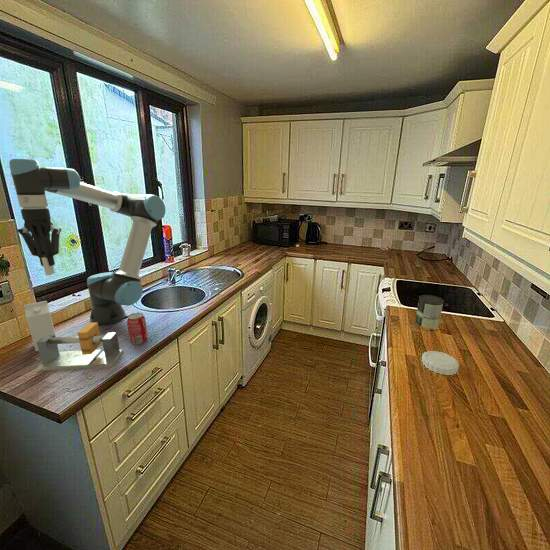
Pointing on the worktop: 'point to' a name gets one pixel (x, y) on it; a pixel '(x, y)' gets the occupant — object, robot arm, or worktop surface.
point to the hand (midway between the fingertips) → (50, 274)
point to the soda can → (137, 328)
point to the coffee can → (429, 311)
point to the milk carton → (39, 321)
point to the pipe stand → (77, 353)
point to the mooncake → (440, 362)
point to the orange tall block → (89, 338)
